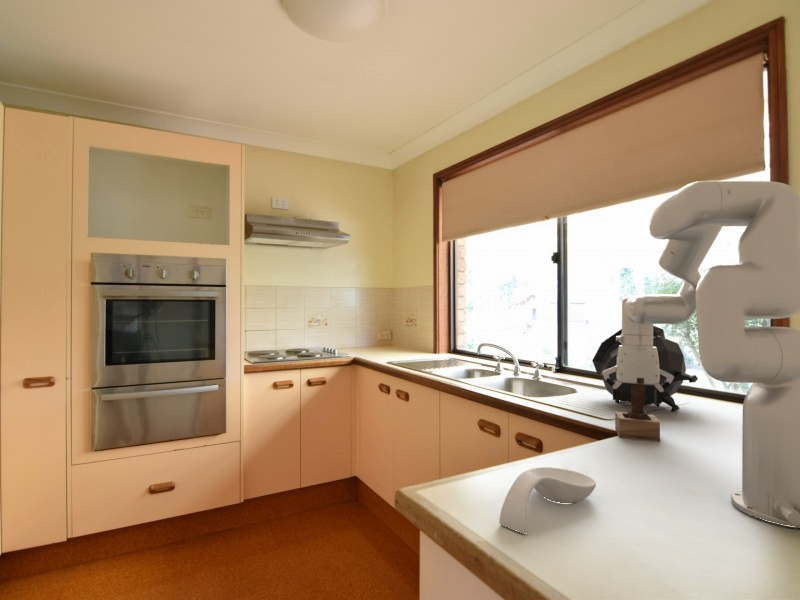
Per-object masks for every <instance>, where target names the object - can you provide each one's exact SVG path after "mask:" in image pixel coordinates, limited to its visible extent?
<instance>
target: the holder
mask: <svg viewBox="0 0 800 600" xmlns="http://www.w3.org/2000/svg"><path fill="white" fill-rule="evenodd" d="M614 413H615V416H614V417H615V419H614V420H615V423H614V425H615V426H614V429H615V432H616V434H617V436H618V438H621V439H628V440H630V439H631V440H639V441H640V440H641V441H647V442H648V441H649V442H658V443H659V442H661V422H660V420H659V419H658V418H657V417H656V416H655V415H654V414H651V413H650V414H649V413H647V414H648V419H647V420H643V419H631V418H629V417H628V411H627V412H625V411H615V412H614Z"/></svg>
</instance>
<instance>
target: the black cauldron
mask: <svg viewBox="0 0 800 600" xmlns="http://www.w3.org/2000/svg"><path fill="white" fill-rule="evenodd" d="M621 334H622V328H620V329H619V330H618V331H617V332H615V333H614V334H612V335H611V336H610V337H608V338H607V339H605V340H604V341H602V342H601V343H600V345H599V347H598V348H597V350H596V353H595V354H594V356H593V358H592V364H593V366H594V367H593V368H595V372H596V374H597V375H599V376H601V379H602V381H603V384H604V387H605V390H606V391H607V392H608V393H609V394H610V395H612V396H613V387H612V386H611V385H609V384H608V383H607V381H606V380H605V378H604V376H603V374H602V371H604V370H607V369H609V368H611V367H614V366H616V363H617V354H618V349H619V345H622V343H621V342H619V341H616V336H621ZM653 347H657V351H658V358H659V368H660V369H661V370H663V371H665V372H667V373H669V374H671V375H673V376H674V379H673V380H672V382H671V383H670V386H669V387H667V388H666V389H665V390H664V391H663V392H662V403H664V404H666V405H667V406H669V407H671V409H670V412H678V411H679V410H680V406H679V405H677V404H676V402H675V399H674V397H673V395H674V394H676V393H677V392H678V389H679V388H680V387H681V386H682V384H683V382H684V381H688V382H689V383H691V384H692V383H696V382H697V381H698V380H699V378H698V377H697V375H696V374H694V375H690V374H688V373H687V368H686V362H685V356H684V353H683V351H682V348H681V346H680V345H679V343H678V342H675V341H672V340H671V339H668V338H666V336H665V331H664V329H663V328H662V327H661V328H660V327H658V326H656V325H653ZM609 377H610V379H611V380H612V381H613V382H614V381H615V380H616V379H617V378H616V372H613V373H611V374H609ZM665 380H666V377H665V376H663V375H661V374H660V381H659V384H662V383H663V382H664V381H665ZM618 389H619V391H620V392H619V400H620V401H619V402H622V401H627V403H631V401H632V399H631V396H632V393H631V391H632V389H631V384H629V383H622V384H621V385H620V386H619V387H618ZM655 390H656V388H655V386H654V385H645V391H644V392H645V396H644V399H645V400H644V403H645V404H644V407H645V406H646V407H647V406H649V405H655V404H654V391H655Z"/></svg>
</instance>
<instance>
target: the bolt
mask: <svg viewBox="0 0 800 600" xmlns="http://www.w3.org/2000/svg"><path fill="white" fill-rule="evenodd" d="M637 383H639V384H631V389H632V391H631V393H632V396H631V399H632V401H631V404H630V407H631V409H628V410H627V413H628V417H629V418H631V419H643V420H647V419H648V414H649V413H648V412H647V411H645V405H644V404H645V403H644V400H645V399H644V396H645V392H644V391H645V385H644V378H637Z"/></svg>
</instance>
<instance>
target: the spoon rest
mask: <svg viewBox="0 0 800 600" xmlns="http://www.w3.org/2000/svg"><path fill="white" fill-rule="evenodd" d="M596 485H597V482H596V480H595V479H594V478H592V477H591V476H588V475H587V474H584V473H582V472H581V473H580V472H576V471H574V470H569V469H566V468H565V469H564V468H557V467H544V466H543V467H532V468H528V469H526V470H525V471H523V472H522V473H520V474H519V475H518V476H517V477H516V478H515V480H514V481H513V483H512V485H511V487H510V488H509V490H508V491H507V494H506V496H505V498H504V501H503V503H502V506H501V511H500V515H499V522H498V523H499V525H500V524H501V525H504V526H506V527H509V528H511V529H514V530H517V531H519V532H521V533H525V534H524V535H527V534H528V504H529V499H530V496H531V493H532V492H533V490H534V489H535V491H536V492H537V493H538V494H539V495H540V496H541V497H542V496H543V497H545V498H546V499H549V500H551V501H555V502H560V503H574V504H576V503H577V502H581V501H583V500H585V499H586V498H588V497H589V496H590V495H591V494H592V493H593V491H594V490H595V488H596V487H597V486H596ZM543 497H542V498H543ZM546 499H545V500H546ZM575 502H576V503H575ZM501 525H500V526H501ZM506 527H505V528H506ZM511 529H510V530H511ZM521 533H520V534H521ZM526 533H527V534H526Z"/></svg>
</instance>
